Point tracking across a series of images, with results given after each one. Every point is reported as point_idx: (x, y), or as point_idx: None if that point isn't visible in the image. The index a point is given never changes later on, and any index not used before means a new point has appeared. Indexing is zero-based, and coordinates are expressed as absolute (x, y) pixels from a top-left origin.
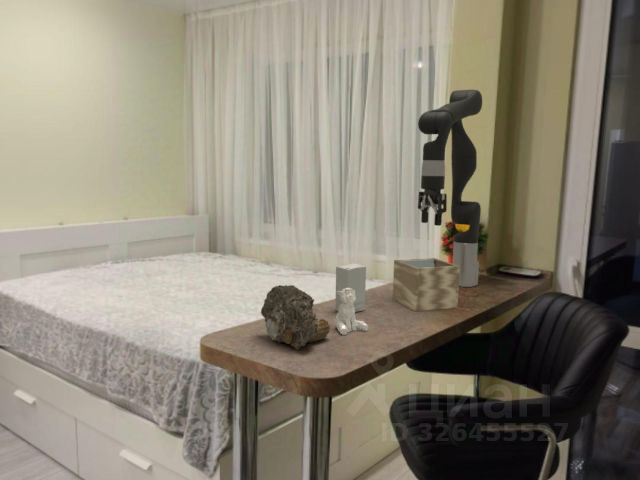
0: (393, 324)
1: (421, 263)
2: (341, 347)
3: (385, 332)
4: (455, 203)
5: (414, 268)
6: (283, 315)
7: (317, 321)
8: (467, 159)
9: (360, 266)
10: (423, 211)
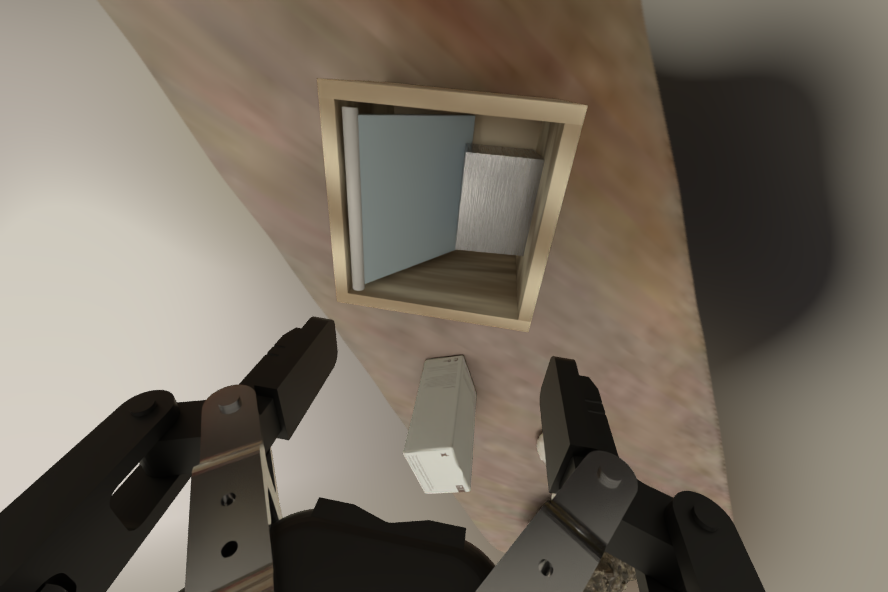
0: (588, 361)
1: (369, 191)
2: (641, 480)
3: (623, 400)
4: None
5: (513, 328)
6: None
7: None
8: None
9: (453, 461)
10: (278, 434)
